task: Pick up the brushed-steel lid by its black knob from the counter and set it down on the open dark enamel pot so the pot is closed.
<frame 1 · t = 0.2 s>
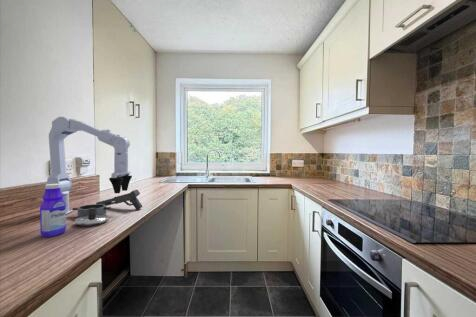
hand: (121, 191, 114), 10 cm above the worktop, tool pointing down, fingers open, 7 cm apart
pot: (92, 215, 109), on the worktop
bottle: (53, 234, 84), on the worktop
lid: (92, 223, 98), on the worktop
handgun: (119, 209, 124), on the worktop
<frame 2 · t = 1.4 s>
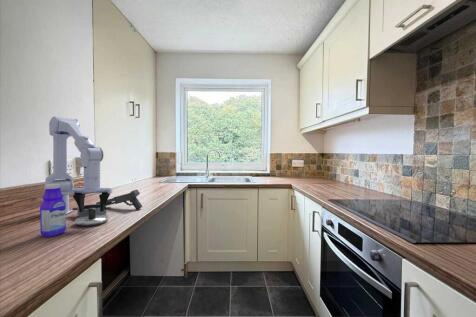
hand: (92, 211, 98), 5 cm above the worktop, tool pointing down, fingers open, 7 cm apart
nothing on the worktop moved.
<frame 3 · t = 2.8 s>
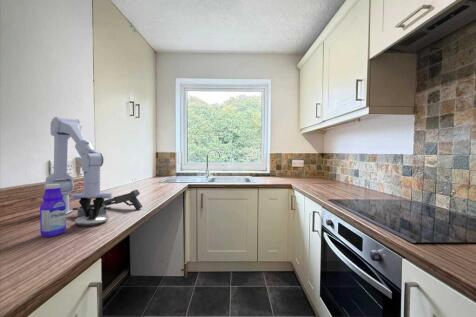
hand: (92, 216, 98), 3 cm above the worktop, tool pointing down, fingers closed on lid, 3 cm apart
lid: (92, 223, 98), on the worktop, touching gripper
everything else where it was.
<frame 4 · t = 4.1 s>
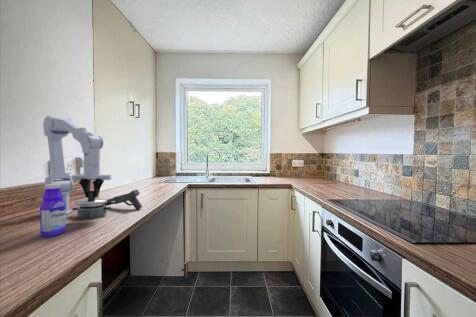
hand: (91, 197, 101), 10 cm above the worktop, tool pointing down, fingers closed on lid, 3 cm apart
lid: (91, 205, 101), point 6 cm above the worktop, touching gripper
everything else where it was.
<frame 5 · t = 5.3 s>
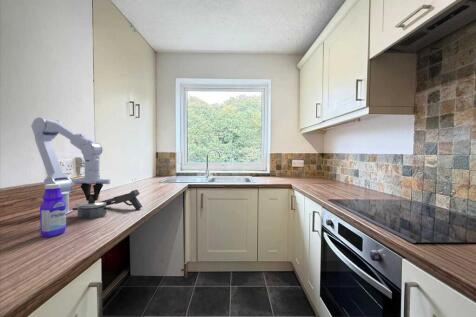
hand: (92, 200, 109), 7 cm above the worktop, tool pointing down, fingers closed on lid, 3 cm apart
lid: (91, 207, 108), point 4 cm above the worktop, tilted 7°, touching gripper, pot
everything else where it was.
when the fingers open (7 cm above the worktop, at t = 5.8 s): lid stays where it is, resting on pot.
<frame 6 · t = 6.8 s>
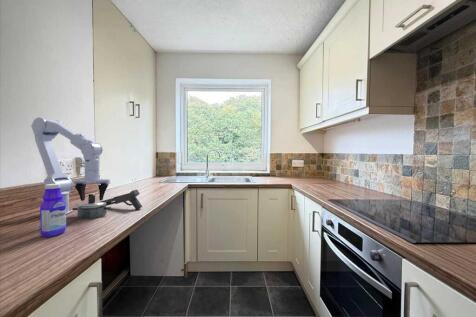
hand: (92, 200, 109), 7 cm above the worktop, tool pointing down, fingers open, 7 cm apart
lid: (91, 207, 108), point 4 cm above the worktop, tilted 7°, touching pot
everything else where it was.
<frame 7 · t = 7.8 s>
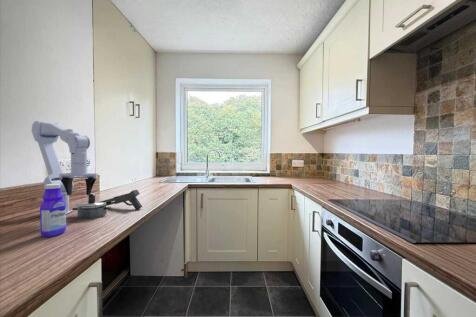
hand: (79, 194, 105), 10 cm above the worktop, tool pointing down, fingers open, 7 cm apart
nothing on the worktop moved.
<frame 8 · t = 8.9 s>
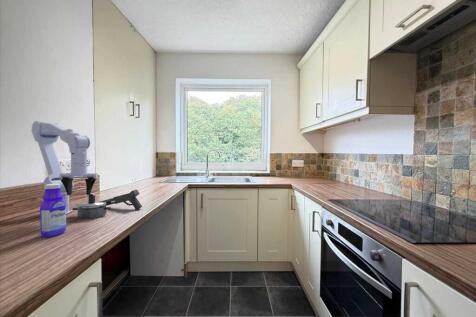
hand: (79, 194, 105), 10 cm above the worktop, tool pointing down, fingers open, 7 cm apart
nothing on the worktop moved.
at the end: lid 0.8 cm off-centre on the pot, point 3.7 cm above the pot's base; lid tilted 7°; the gripper is holding nothing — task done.
